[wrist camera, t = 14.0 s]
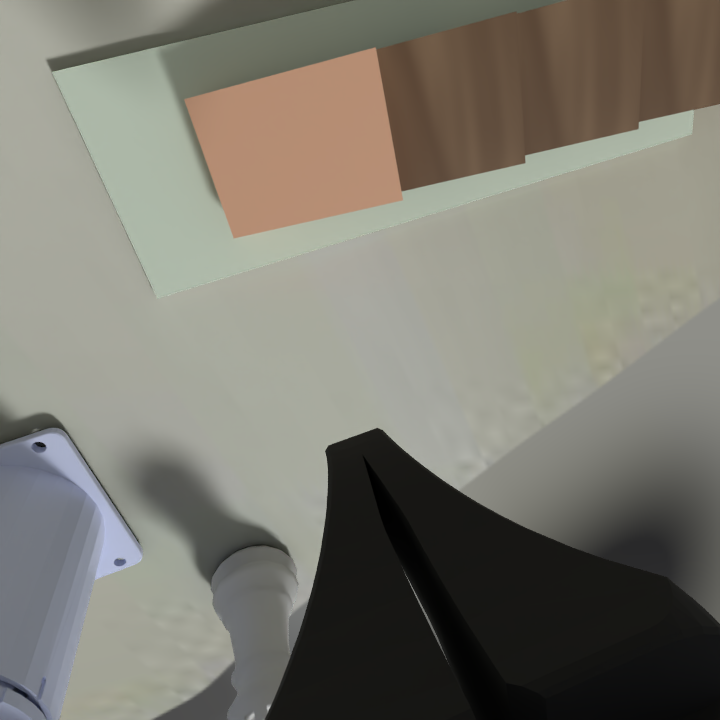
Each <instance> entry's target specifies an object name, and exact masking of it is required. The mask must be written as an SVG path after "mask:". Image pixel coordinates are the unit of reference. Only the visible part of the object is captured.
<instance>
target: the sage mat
mask: <svg viewBox="0 0 720 720" xmlns="http://www.w3.org/2000/svg"><path fill="white" fill-rule="evenodd" d="M562 1H565V0H353V1H349V2H344V3H340V4H336V5H332V6H328V7H323V8H319V9H315V10H311V11H307V12H302V13H298V14H294V15H290V16H285V17H281V18H277V19H273V20H269V21H264V22H260V23H256V24H252V25H248V26H243V27H239V28H235V29H231V30H227V31H222V32H218V33H214V34H210V35H205V36H201V37H197V38H193V39H189V40H184V41H180V42H176V43H172V44H168V45H163V46H159V47H155V48H151V49H146V50H142V51H138V52H134V53H130V54H125V55H121V56H117V57H113V58H109V59H104V60H100V61H96V62H92V63H88V64H83V65H79V66H75V67H71V68H66V69H62V70H58V71H54V72H52V73H53V75H54V78H55V80H56V82H57V84H58V86H59V88H60V90H61V93H62V95H63V97H64V99H65V101H66V103H67V106H68V108H69V110H70V112H71V114H72V116H73V118H74V121H75V123H76V125H77V127H78V129H79V131H80V134H81V136H82V138H83V140H84V142H85V144H86V146H87V149H88V151H89V153H90V155H91V157H92V159H93V161H94V164H95V166H96V168H97V170H98V172H99V174H100V177H101V179H102V181H103V183H104V185H105V187H106V189H107V192H108V194H109V196H110V198H111V200H112V202H113V204H114V207H115V209H116V211H117V213H118V215H119V217H120V220H121V222H122V224H123V226H124V228H125V230H126V232H127V235H128V237H129V239H130V241H131V243H132V245H133V248H134V250H135V252H136V254H137V256H138V258H139V260H140V263H141V265H142V267H143V269H144V271H145V273H146V275H147V278H148V280H149V282H150V284H151V286H152V288H153V291H154V293H155V295H156V297H157V299H159V298H162V297H165V296H168V295H172V294H175V293H178V292H181V291H185V290H188V289H191V288H194V287H198V286H201V285H204V284H207V283H211V282H214V281H217V280H220V279H224V278H227V277H230V276H233V275H237V274H240V273H243V272H246V271H250V270H253V269H256V268H259V267H263V266H266V265H269V264H272V263H276V262H279V261H282V260H285V259H289V258H292V257H295V256H298V255H302V254H305V253H308V252H311V251H315V250H318V249H321V248H324V247H328V246H331V245H334V244H337V243H341V242H344V241H347V240H350V239H354V238H357V237H360V236H363V235H366V234H370V233H373V232H376V231H379V230H383V229H386V228H389V227H392V226H396V225H399V224H402V223H405V222H409V221H412V220H415V219H418V218H422V217H425V216H428V215H431V214H435V213H438V212H441V211H444V210H448V209H451V208H454V207H457V206H461V205H464V204H467V203H470V202H474V201H477V200H480V199H483V198H487V197H490V196H493V195H496V194H500V193H503V192H506V191H509V190H513V189H516V188H519V187H522V186H526V185H529V184H532V183H535V182H539V181H542V180H545V179H548V178H552V177H555V176H558V175H561V174H565V173H568V172H571V171H574V170H578V169H581V168H584V167H587V166H591V165H594V164H597V163H600V162H604V161H607V160H610V159H613V158H617V157H620V156H623V155H626V154H630V153H633V152H636V151H639V150H643V149H646V148H649V147H652V146H656V145H659V144H662V143H665V142H669V141H672V140H675V139H678V138H682V137H685V136H688V135H691V134H692V127H693V117H694V110H690V111H686V112H682V113H677V114H673V115H668V116H664V117H659V118H655V119H650V120H646V121H641V122H639V129H637V130H633V131H629V132H624V133H620V134H616V135H611V136H607V137H603V138H598V139H594V140H590V141H585V142H581V143H577V144H573V145H568V146H564V147H560V148H555V149H551V150H547V151H542V152H538V153H534V154H529V155H525V162H526V163H524V164H520V165H515V166H511V167H507V168H502V169H498V170H494V171H489V172H485V173H481V174H476V175H472V176H467V177H463V178H459V179H454V180H450V181H446V182H441V183H437V184H433V185H428V186H424V187H419V188H415V189H411V190H406V191H402V197H403V200H402V201H398V202H393V203H389V204H385V205H380V206H376V207H371V208H367V209H362V210H358V211H354V212H349V213H345V214H340V215H336V216H331V217H327V218H323V219H318V220H314V221H309V222H305V223H300V224H296V225H292V226H287V227H283V228H278V229H274V230H269V231H265V232H261V233H256V234H252V235H247V236H243V237H238V238H233V235H232V232H231V229H230V227H229V224H228V221H227V218H226V215H225V213H224V210H223V207H222V204H221V201H220V199H219V196H218V193H217V190H216V187H215V185H214V182H213V179H212V176H211V173H210V171H209V168H208V165H207V162H206V159H205V157H204V154H203V151H202V148H201V145H200V143H199V140H198V137H197V134H196V131H195V129H194V126H193V123H192V120H191V117H190V115H189V112H188V109H187V106H186V103H185V101H184V99H187V98H191V97H194V96H198V95H202V94H205V93H209V92H213V91H216V90H220V89H224V88H227V87H231V86H235V85H239V84H242V83H246V82H250V81H253V80H257V79H261V78H264V77H268V76H272V75H275V74H279V73H283V72H286V71H290V70H294V69H298V68H301V67H305V66H309V65H312V64H316V63H320V62H323V61H327V60H331V59H334V58H338V57H342V56H345V55H349V54H353V53H356V52H360V51H364V50H368V49H371V48H375V47H376V49H380V48H383V47H387V46H391V45H394V44H398V43H402V42H405V41H409V40H413V39H416V38H420V37H424V36H427V35H431V34H435V33H438V32H442V31H446V30H449V29H453V28H457V27H460V26H464V25H468V24H471V23H475V22H479V21H482V20H486V19H490V18H493V17H497V16H501V15H504V14H508V13H512V12H515V11H517V14H518V13H521V12H525V11H529V10H532V9H536V8H540V7H543V6H547V5H551V4H554V3H558V2H562Z"/></svg>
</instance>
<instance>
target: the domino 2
mask: <svg viewBox="0 0 720 720" xmlns="http://www.w3.org/2000/svg"><path fill="white" fill-rule="evenodd" d="M644 3H645V0H565V1H562V2H558V3H554V4H551V5H547V6H543V7H540V8H536V9H532V10H529V11H525V12H521V13H518V14H517V24H518V42H519V59H520V76H521V93H522V111H523V128H524V145H525V155H529V154H534V153H538V152H542V151H547V150H551V149H555V148H560V147H564V146H568V145H573V144H577V143H581V142H585V141H590V140H594V139H598V138H603V137H607V136H611V135H616V134H620V133H624V132H629V131H633V130H637V129H639V109H640V88H641V67H642V45H643V24H644Z"/></svg>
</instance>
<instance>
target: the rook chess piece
mask: <svg viewBox="0 0 720 720" xmlns="http://www.w3.org/2000/svg"><path fill="white" fill-rule="evenodd" d="M296 573H297V569H296V566H295V563H294V561H293V559H292V558H291V557H289V556H288V555H287V554H285V553H284V552H283V551H281V550H279V549H277V548H274V547H270V546H266V545H261V546H250V547H247V548H244V549H241V550H239V551H236V552H235V553H233V554H232V555H231V556H229V557H228V558H227V559H225V560H224V561H223V562H222V563H221V564H220V566H219V567H218V569H217V570H216V572H215V573H214V575H213V577H212V583H211V591H212V593H213V607H214V609H215V612H216V613H217V615H218V617H219V619H220V620H221V621H222V622H223V624H224V626H225V628H226V630H228V631H229V633H230V637H231V642H232V647H233V652H234V656H235V670H234V672H233V673H232V680H231V683H232V685H233V686H234V688H235V689H236V690H237V692H238V695H237V697H236V699H235V700H234V702H233V704H232V705H231V707H230V709H229V710H228V715H227V720H265V718H266V715H267V713H268V711H269V709H270V707H271V704H272V702H273V700H274V698H275V695H276V693H277V690H278V688H279V686H280V683H281V680H282V678H283V675H284V672H285V670H286V667H287V664H288V662H289V659H290V656H291V655H290V650H289V634H288V633H289V630H288V629H289V626H288V625H289V623H288V619H289V616H290V615H291V614H292V608H293V604H294V603H295V602H296V596H297V590H298V581H297V579H296Z"/></svg>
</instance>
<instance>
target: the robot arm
mask: <svg viewBox="0 0 720 720" xmlns="http://www.w3.org/2000/svg"><path fill="white" fill-rule="evenodd" d="M35 442H42V443H44V444H45V445H46V447H38V446H37V445H36V444H35ZM325 452H326V456H327V463H328V496H327V510H326V519H325V526H324V533H323V540H322V546H321V552H320V557H319V562H318V566H317V571H316V575H315V579H314V583H313V588H312V591H311V595H310V598H309V602H308V605H307V609H306V613H305V616H304V619H303V622H302V626H301V629H300V632H299V635H298V638H297V640H296V643H295V646H294V648H293V651H292V654H291V656H290V659H289V662H288V664H287V667H286V670H285V672H284V675H283V678H282V680H281V683H280V686H279V688H278V690H277V693H276V695H275V698H274V700H273V702H272V704H271V707H270V709H269V711H268V713H267V715H266V718H265V720H720V624H719V623H718V622H717V621H716V620H715V619H714V618H713V617H712V616H711V615H710V614H709V613H708V612H707V611H706V610H705V609H704V608H703V607H702V606H701V605H700V604H698V603H697V602H696V601H695V600H694V599H693V598H692V597H690V596H689V595H688V594H686V593H685V592H684V591H683V590H682V589H680V588H679V587H678V586H677V585H675V584H674V583H673V582H672V581H671V580H670V579H668V578H667V577H664V576H661V575H658V574H654V573H651V572H647V571H643V570H640V569H637V568H633V567H630V566H627V565H623V564H620V563H616V562H613V561H609V560H606V559H603V558H600V557H597V556H594V555H592V554H589V553H586V552H583V551H580V550H577V549H575V548H572V547H570V546H567V545H565V544H563V543H560V542H558V541H556V540H553V539H551V538H548V537H546V536H544V535H541V534H539V533H536V532H534V531H532V530H529V529H527V528H525V527H523V526H521V525H519V524H517V523H515V522H513V521H511V520H509V519H507V518H505V517H503V516H501V515H499V514H497V513H495V512H494V511H492V510H490V509H488V508H486V507H484V506H483V505H481V504H479V503H477V502H476V501H474V500H472V499H471V498H469V497H467V496H466V495H464V494H463V493H461V492H460V491H458V490H457V489H455V488H453V487H452V486H450V485H449V484H447V483H446V482H445V481H443V480H442V479H440V478H439V477H437V476H436V475H435V474H433V473H432V472H431V471H429V470H428V469H427V468H425V467H424V466H423V465H421V464H420V463H419V462H417V461H416V460H415V459H414V458H412V457H411V456H410V455H409V454H408V453H406V452H405V451H404V450H403V449H402V448H401V447H399V446H398V445H397V444H396V443H395V442H394V441H393V440H392V439H391V438H390V437H389V436H388V435H387V434H386V433H385V432H384V431H383V430H381V429H379V428H376V429H373V430H370V431H368V432H365V433H362V434H359V435H357V436H354V437H351V438H348V439H345V440H343V441H340V442H337V443H334V444H332V445H329V446H328V447H327V449H326V451H325ZM142 556H143V549H142V547H141V546H140V544H139V543H138V541H137V540H136V538H135V537H134V535H133V534H132V532H131V531H130V529H129V528H128V526H127V525H126V523H125V522H124V520H123V519H122V517H121V516H120V514H119V512H118V511H117V509H116V508H115V506H114V505H113V503H112V502H111V500H110V499H109V497H108V496H107V494H106V493H105V491H104V490H103V488H102V487H101V485H100V484H99V482H98V481H97V479H96V478H95V476H94V475H93V473H92V472H91V470H90V468H89V467H88V465H87V464H86V462H85V461H84V459H83V458H82V456H81V455H80V453H79V452H78V450H77V449H76V447H75V446H74V444H73V443H72V441H71V440H70V438H69V437H68V435H67V434H66V433H65V432H64V431H63V430H61V429H59V428H48V429H45V430H42V431H39V432H36V433H33V434H30V435H27V436H24V437H21V438H18V439H15V440H12V441H9V442H6V443H3V444H0V720H59V718H60V714H61V710H62V706H63V702H64V698H65V694H66V690H67V687H68V683H69V679H70V675H71V671H72V667H73V663H74V659H75V655H76V651H77V647H78V643H79V639H80V635H81V631H82V627H83V623H84V619H85V615H86V611H87V608H88V604H89V600H90V596H91V592H92V588H93V584H94V580H95V579H98V578H101V577H103V576H106V575H108V574H111V573H114V572H116V571H119V570H122V569H124V568H127V567H130V566H132V565H135V564H137V563H139V562H140V561H141V560H142ZM117 558H124V559H123V560H119V559H117ZM404 572H405V573H404ZM405 574H406V575H405ZM406 576H407V577H408V579H409V581H410V583H411V585H412V587H413V589H414V591H415V593H416V595H417V596H418V599H419V600H420V602H421V604H422V606H423V608H424V610H425V612H426V614H427V616H428V618H429V620H430V622H431V624H432V626H433V628H434V630H435V633H436V635H437V637H438V639H439V641H440V644H441V646H442V649H443V651H444V654H445V656H446V658H447V660H446V659H445V656H444V654H443V652H442V650H441V648H440V646H439V644H438V642H437V640H436V638H435V636H434V634H433V632H432V630H431V628H430V625H429V623H428V621H427V619H426V617H425V615H424V613H423V611H422V609H421V607H420V605H419V603H418V600H417V598H416V596H415V594H414V592H413V590H412V588H411V586H410V583H409V581H408V579H407V577H406ZM447 661H448V662H447ZM448 663H449V664H448Z"/></svg>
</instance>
